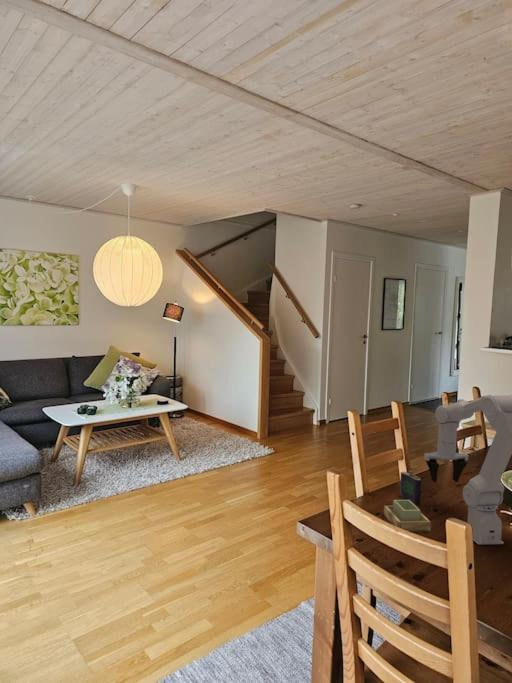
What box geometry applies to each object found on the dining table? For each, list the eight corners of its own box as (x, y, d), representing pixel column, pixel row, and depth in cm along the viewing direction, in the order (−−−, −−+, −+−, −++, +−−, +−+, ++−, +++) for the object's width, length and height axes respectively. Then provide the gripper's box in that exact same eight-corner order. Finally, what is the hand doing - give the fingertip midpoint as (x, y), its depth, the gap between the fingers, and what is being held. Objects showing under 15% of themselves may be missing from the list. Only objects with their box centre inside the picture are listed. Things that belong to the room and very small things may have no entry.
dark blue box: (398, 495, 164) (399, 466, 164) (404, 494, 165) (405, 465, 165) (416, 506, 156) (418, 475, 155) (423, 504, 157) (424, 474, 156)
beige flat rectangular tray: (430, 531, 137) (431, 522, 137) (398, 532, 136) (399, 522, 136) (413, 514, 149) (413, 505, 149) (383, 514, 148) (384, 505, 148)
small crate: (419, 526, 139) (420, 510, 139) (402, 526, 139) (403, 510, 139) (408, 514, 147) (409, 499, 147) (392, 515, 147) (393, 499, 146)
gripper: (461, 437, 157) (458, 476, 158) (420, 437, 155) (418, 476, 156) (472, 443, 150) (470, 484, 151) (430, 443, 148) (428, 484, 149)
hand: (444, 480), depth 153 cm, fingers open, 7 cm apart
